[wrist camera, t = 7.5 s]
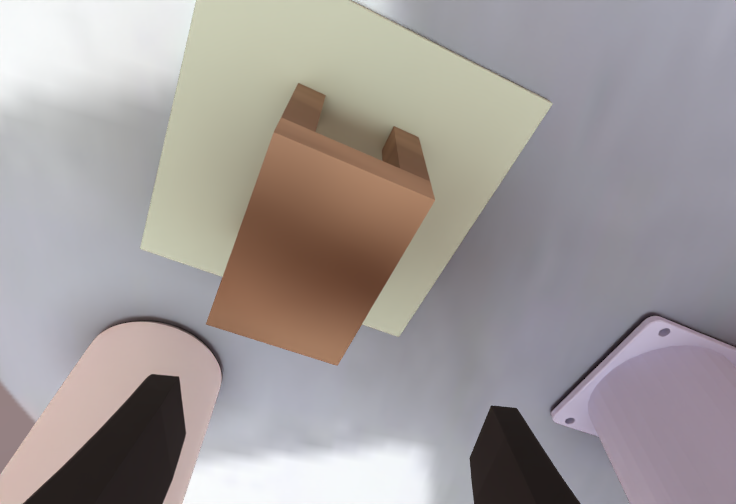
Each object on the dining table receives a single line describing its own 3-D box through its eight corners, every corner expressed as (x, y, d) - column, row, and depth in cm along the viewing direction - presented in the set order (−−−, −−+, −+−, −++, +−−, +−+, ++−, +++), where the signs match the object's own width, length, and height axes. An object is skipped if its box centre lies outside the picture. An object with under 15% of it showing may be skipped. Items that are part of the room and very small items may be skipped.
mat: (548, 100, 17) (552, 103, 16) (398, 331, 23) (398, 336, 22) (215, -68, 14) (211, -69, 14) (143, 243, 20) (140, 248, 20)
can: (107, 296, 22) (-120, 603, 12) (242, 344, 23) (146, 651, 13) (82, 382, 25) (-114, 683, 15) (202, 419, 26) (101, 713, 16)
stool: (343, 279, 21) (337, 365, 16) (240, 242, 20) (205, 324, 15) (418, 137, 17) (435, 200, 13) (298, 82, 16) (273, 132, 12)
